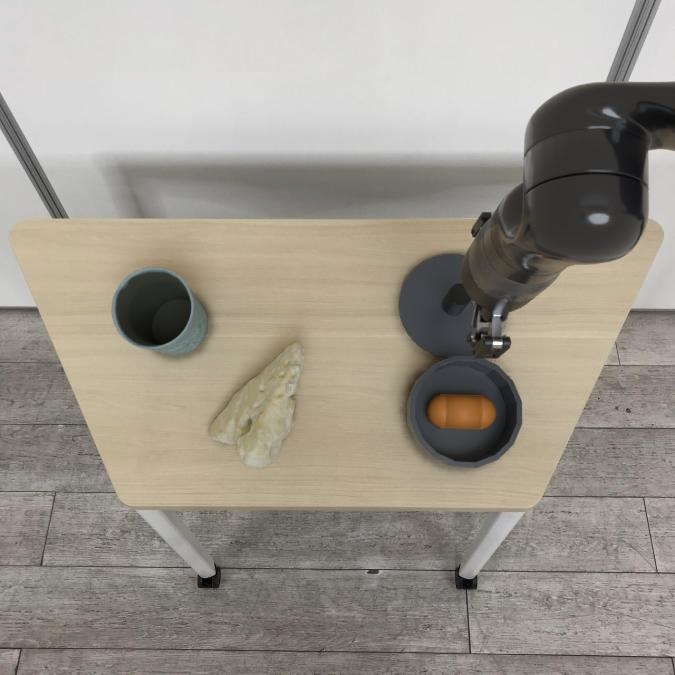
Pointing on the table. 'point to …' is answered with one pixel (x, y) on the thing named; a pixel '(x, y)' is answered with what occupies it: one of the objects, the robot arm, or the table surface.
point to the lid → (438, 307)
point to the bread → (461, 411)
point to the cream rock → (262, 410)
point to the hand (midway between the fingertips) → (475, 302)
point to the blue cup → (159, 312)
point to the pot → (463, 443)
